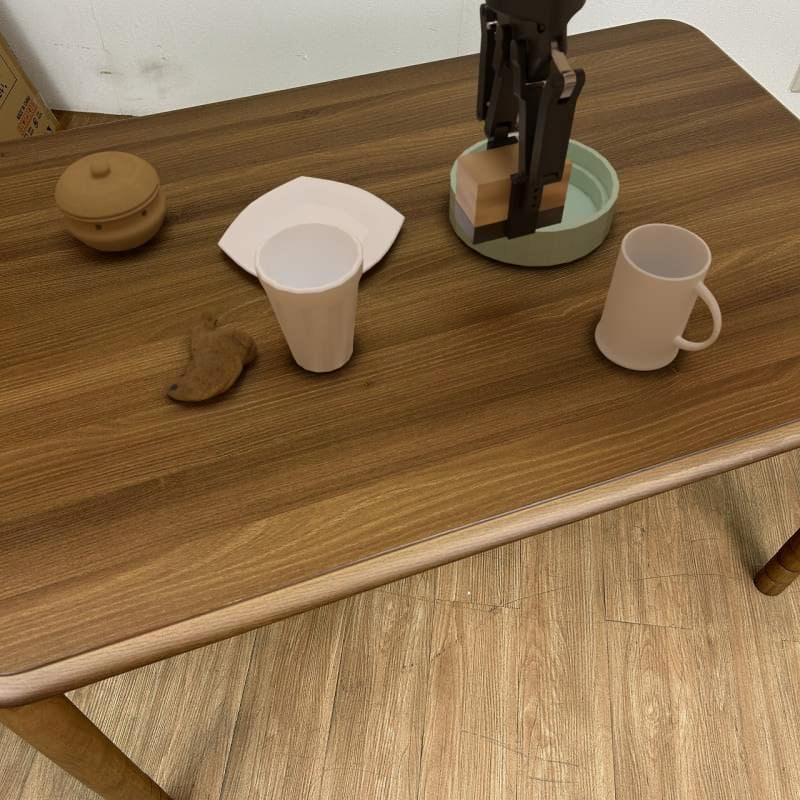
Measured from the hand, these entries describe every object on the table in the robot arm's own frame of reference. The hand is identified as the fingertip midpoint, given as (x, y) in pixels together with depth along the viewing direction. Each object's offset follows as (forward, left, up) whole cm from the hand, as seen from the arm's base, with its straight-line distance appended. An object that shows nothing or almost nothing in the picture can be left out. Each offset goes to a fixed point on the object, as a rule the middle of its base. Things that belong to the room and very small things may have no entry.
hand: (508, 216), depth 70 cm
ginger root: (+22, +22, -13) cm, 34 cm away
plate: (+24, 0, -13) cm, 28 cm away
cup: (+13, +14, -13) cm, 23 cm away
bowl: (+4, -17, -13) cm, 22 cm away
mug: (-16, -3, -13) cm, 21 cm away
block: (0, 0, 0) cm, 0 cm away
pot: (+45, +10, -13) cm, 48 cm away
